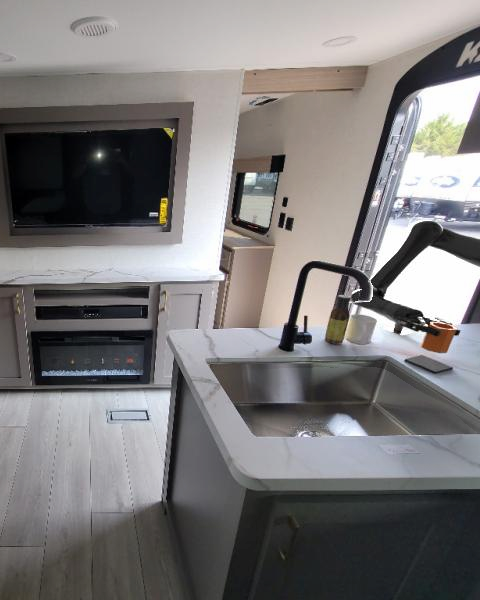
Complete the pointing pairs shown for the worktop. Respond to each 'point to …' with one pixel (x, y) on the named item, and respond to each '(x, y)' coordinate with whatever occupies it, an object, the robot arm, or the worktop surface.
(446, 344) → the orange spice jar
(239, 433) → the worktop surface
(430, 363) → the mat
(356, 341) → the mug
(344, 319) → the sauce bottle
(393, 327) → the stand
